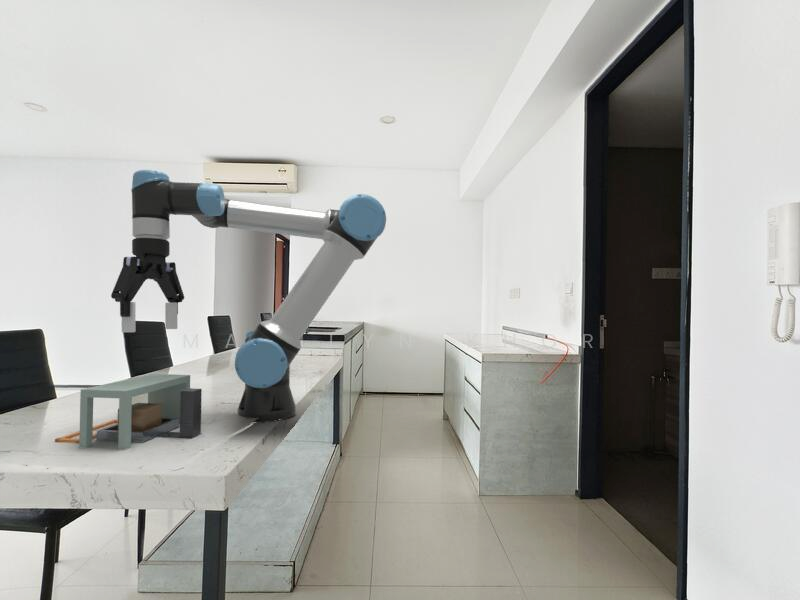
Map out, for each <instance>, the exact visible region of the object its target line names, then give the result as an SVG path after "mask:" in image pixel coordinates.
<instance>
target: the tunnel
mask: <svg viewBox="0 0 800 600" xmlns="http://www.w3.org/2000/svg"><path fill="white" fill-rule="evenodd" d="M189 388H191V374H171V373H170V374H168V373H165V374H164V373H152V374H151V373H150V374H145V375H142V376H141V375H140V376H136V377H133V378H127V379H122V380H119V381H113V382H108V383H103V384H100V385H96V386H90V387H86V388H82V389H80V397H79V402H80V403H79V404H80V405H79V431H80V435H79V438H78V439H79V443H78V447H79V449H80V448H84V449H87V448H89V447H90V448H91V447H92V446H93V439H92V435H93V432H94V430H93V427H94V398H99V399H102V398H103V399H118V402H119V403H118V409H119V436H118V443H117V449H118V451H120V450H121V451H122V450H123V451H126V450H128V449H130V448H131V447H132V442H131V415H132V405H133V398H134V397H137V396H141V395H145V394H147V403H155V404H162V418H179V424H180V400H181V391H182V390H185V389H189Z"/></svg>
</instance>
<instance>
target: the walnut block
mask: <svg viewBox="0 0 800 600" xmlns="http://www.w3.org/2000/svg"><path fill="white" fill-rule="evenodd" d="M117 420H118V423H117V424H118V428H117V431H119V408H117ZM160 424H162V404H155V403H148V402H147V403H146V402H136V403H132V415H131V431H137V432H143V431H145V430H148V429H150V428H153V427H155V426H158V425H160Z"/></svg>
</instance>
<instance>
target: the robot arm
mask: <svg viewBox="0 0 800 600" xmlns="http://www.w3.org/2000/svg"><path fill="white" fill-rule="evenodd" d="M131 185H132V187H131V189H130V190H131V205H132V206H131V209H132V211H131V213H132V216H131V217H132V218H131V219H132V237H134V238H133V239H132V240H131V247H132V248H131V253H132V255H133V256H124V257H123V261H122V268H121V270H120V273H119V275H118V278H117V279H116V282H115V284H114V287H113V290H112V292H111V295H110V296H111V298H112V299H114V301H115V302H117V303H119V315H120V317H121V333H136V332H137V331H136V301H133V300H134V298H135V296H136V295H137V293H138V292H139V291H140V289H141V288H142V286H143V285H144V283H145V281H146V280H153V281H154V282H156V283H157V285H158V287H159V288H160V290H161V292H162V293H163V295H164V297H165V299H166V301H167V302H165V307H164V308H165V311H164V312H165V315H164V316H165V318H164V319H165V323H164V326H165V329H164V330H178V314H179V303H182V302H183V301H184V299H185V295H184V292H183V289H182V285H181V283H180V280H179V277H178V274H177V269H176V268H177V267H176V263H175V262H169V261H168V262H167V261H166V258H168V257H169V256H170V254H171V253H170V252H171V251H170V241H169V239H170V238H171V237H170V236H171V234H170V231H171V230H170V215H177V216H192V217H193V218H195V220H197V222H199V223H200V224H201V225H202V226H204V227H207V228H210V229H217V228H229V229H231V228H232V229H237V230H238V229H239V230H245V231H246V230H247V231H252V232H253V231H255V232H262V233H268V234H279V235H285V236H294V237H302V238H310V239H317V240H322V241H323V242H324V243H323V245H322V246H321V247H320V249H319V250H318V252H317V253H316V254H315V256H314V257H313V258H312V260H311V261H310V263H309V264H308V266H307V267H306V268H305V270H304V271H303V273H302V274H301V276H300V277H299V278H298V279H297V281H295V282H296V283H295V284H294V285H293V286H292V288H291V289H290V291H289V292H288V294H287V295H286V297H285V298H284V300H283V301H282V302H281V304H280V305H279V306H278V308H277V309H276V311H275V312H274V313H273V315H272V316H271V318H270V319H267V320H264V321H263V320H262V321H260V323H258V325H257V326H256V328H255V329H254V330H249V331H247V333H246V335H245V339H244V344H242V345H241V346H240V347H239V348H238V350H237V352H236V354H235V357H234V368H235V372H236V375H237V377H238V378H239V379H240V380H241V381H242V382H243V383H244V390H243V394H242V396H241V399H240V402H239V404H238V407H237V415H238V416H240V417H243V418H247V419H255V420H253V421H252V422H253V423H266V422H265V421H270V422H275V421H274V420H278V421H280V420H279V419H283V420H287V419H290V418H292V417H294V416H295V415H296V411H297V408H296V407H297V406H296V401H295V400H294V397H293V393H292V390H291V386H290V377H291V376H290V375H291V373H290V372H291V370H290V369H291V364H292V362H293V360H295V357H296V356H297V355H298V354H299V351H300V350H301V349H302V345H301V338H302V337H303V335H304V334H305V333H306V331H307V329H308V328H309V326H310V325H311V324H312V323H313V321H314V319H315V317H316V316H317V315H318V314H319V312H320V310H321V309H322V308H323V306H324V305H325V303H326V302H327V301H328V299H329V298H330V296H331V295H332V293H333V292H334V291H335V289H336V288H337V286H338V285H339V283H340V282H341V280H342V279H343V278H344V276H345V275H346V273H347V272H348V270H349V269H350V267H351V266H352V265H353V263H354V261H356V260H362V259H364V257H365V256H366V255H367V253H368V252H369V250H370V249H371V248H372V246H373V244H374V243H375V241H376V240H377V239H378V238H379V237H380V236H381V235H382V233H383V232H384V230H385V229H386V223H387V214H386V213H387V212H386V211H385V209H384V206H383V205H382V203H380V201H379V200H378V199H376V198H375V197H373V196H371V195H369V194H363V193H358V194H354V195H351V196H350V197H348V198H347V199H346V200H344V201H343V202H342V204H341V205H340V207H339V209H332V208H329V209H328V210H326V211H318V210H312V209H311V210H310V209H303V208H296V207H288V206H280V205H274V204H265V203H258V202H251V201H243V200H236V199H228V198H225V193H224V189H223V187H222V186H221V185H219V184H214V183H208V182H202V183H200V182H180V181H179V182H177V181H171V180H170V177H169V175H168V174H167V173H164V172H162V171H159V170H152V169H139V170H137V171H135V172H134V173H133V174H132V184H131Z"/></svg>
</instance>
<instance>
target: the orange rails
mask: <svg viewBox="0 0 800 600" xmlns="http://www.w3.org/2000/svg"><path fill="white" fill-rule="evenodd" d="M115 424H118V419H112V420H110V421H106V422H104V423H101V424H97V425H93V431H97V430H100V429H103V428H104V427H105V428H106V427H109V426H112V425H115ZM78 436H80V430H79V431H76V432H73V433H70V434H67V435H63V436H61V437H57V438H55V439H54V442H55V443H65V444H67V443H69V444H71V443H72V444H79V438H77V437H78ZM94 439H96V433H94V434H93V435H92V440H94Z"/></svg>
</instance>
